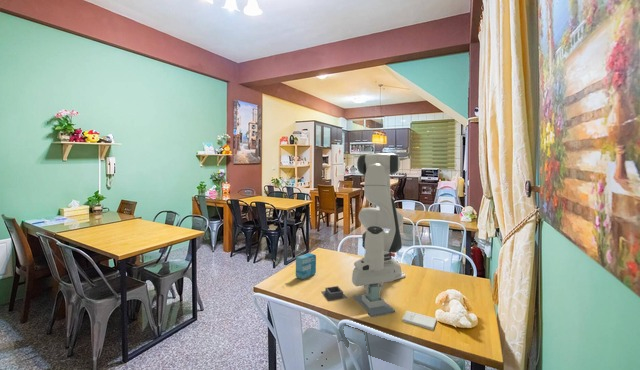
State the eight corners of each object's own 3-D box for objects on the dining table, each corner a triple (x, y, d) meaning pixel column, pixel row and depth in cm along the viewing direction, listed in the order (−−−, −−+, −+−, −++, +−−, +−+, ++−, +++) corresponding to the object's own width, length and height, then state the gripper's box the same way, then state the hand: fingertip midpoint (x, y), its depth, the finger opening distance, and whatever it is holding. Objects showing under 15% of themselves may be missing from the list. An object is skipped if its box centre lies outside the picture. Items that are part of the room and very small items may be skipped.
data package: (301, 280, 160) (301, 259, 159) (295, 278, 163) (295, 257, 162) (315, 274, 169) (316, 253, 168) (310, 272, 172) (310, 252, 171)
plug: (374, 297, 136) (375, 280, 136) (379, 301, 133) (379, 284, 132) (367, 298, 135) (367, 281, 134) (371, 302, 131) (371, 285, 130)
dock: (374, 294, 144) (374, 287, 144) (395, 312, 127) (395, 305, 127) (352, 297, 140) (352, 291, 140) (370, 317, 124) (371, 309, 123)
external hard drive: (433, 331, 115) (401, 322, 121) (436, 321, 122) (406, 313, 128) (433, 327, 115) (401, 318, 121) (436, 318, 122) (406, 309, 128)
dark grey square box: (339, 290, 148) (339, 284, 148) (347, 299, 139) (347, 292, 138) (320, 293, 145) (321, 286, 144) (328, 303, 135) (328, 295, 135)
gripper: (390, 258, 139) (389, 286, 140) (350, 262, 132) (350, 292, 133) (397, 262, 133) (396, 292, 134) (357, 267, 126) (356, 298, 127)
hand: (373, 292), depth 133 cm, fingers closed on plug, 4 cm apart
